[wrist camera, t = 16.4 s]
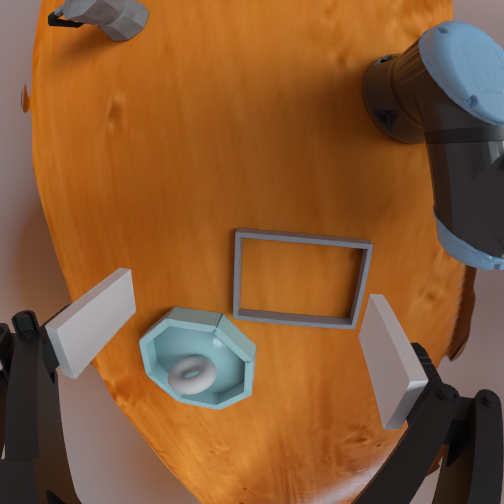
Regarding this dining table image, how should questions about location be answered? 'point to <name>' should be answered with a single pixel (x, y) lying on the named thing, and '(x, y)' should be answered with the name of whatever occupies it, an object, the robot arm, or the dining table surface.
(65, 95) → the dining table surface
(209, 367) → the donut
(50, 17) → the coffeepot
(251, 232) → the grey rectangular frame
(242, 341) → the bowl
